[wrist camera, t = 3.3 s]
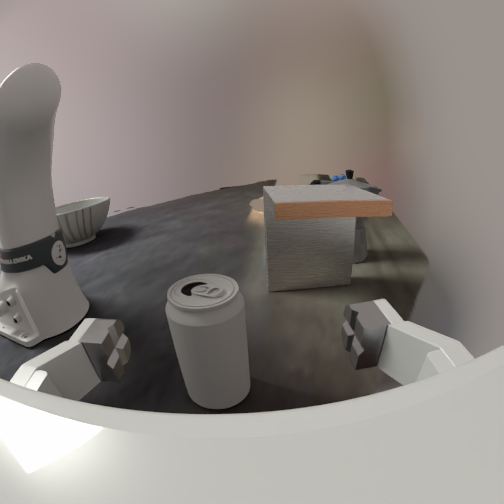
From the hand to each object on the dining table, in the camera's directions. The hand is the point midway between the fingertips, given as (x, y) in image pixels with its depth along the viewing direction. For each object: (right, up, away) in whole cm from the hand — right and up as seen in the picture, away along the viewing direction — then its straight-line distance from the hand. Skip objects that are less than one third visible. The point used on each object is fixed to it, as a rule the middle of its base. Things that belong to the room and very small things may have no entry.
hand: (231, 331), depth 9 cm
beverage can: (-3, -11, +16) cm, 20 cm away
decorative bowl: (-57, +6, +70) cm, 90 cm away
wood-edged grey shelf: (+11, -5, +32) cm, 34 cm away
